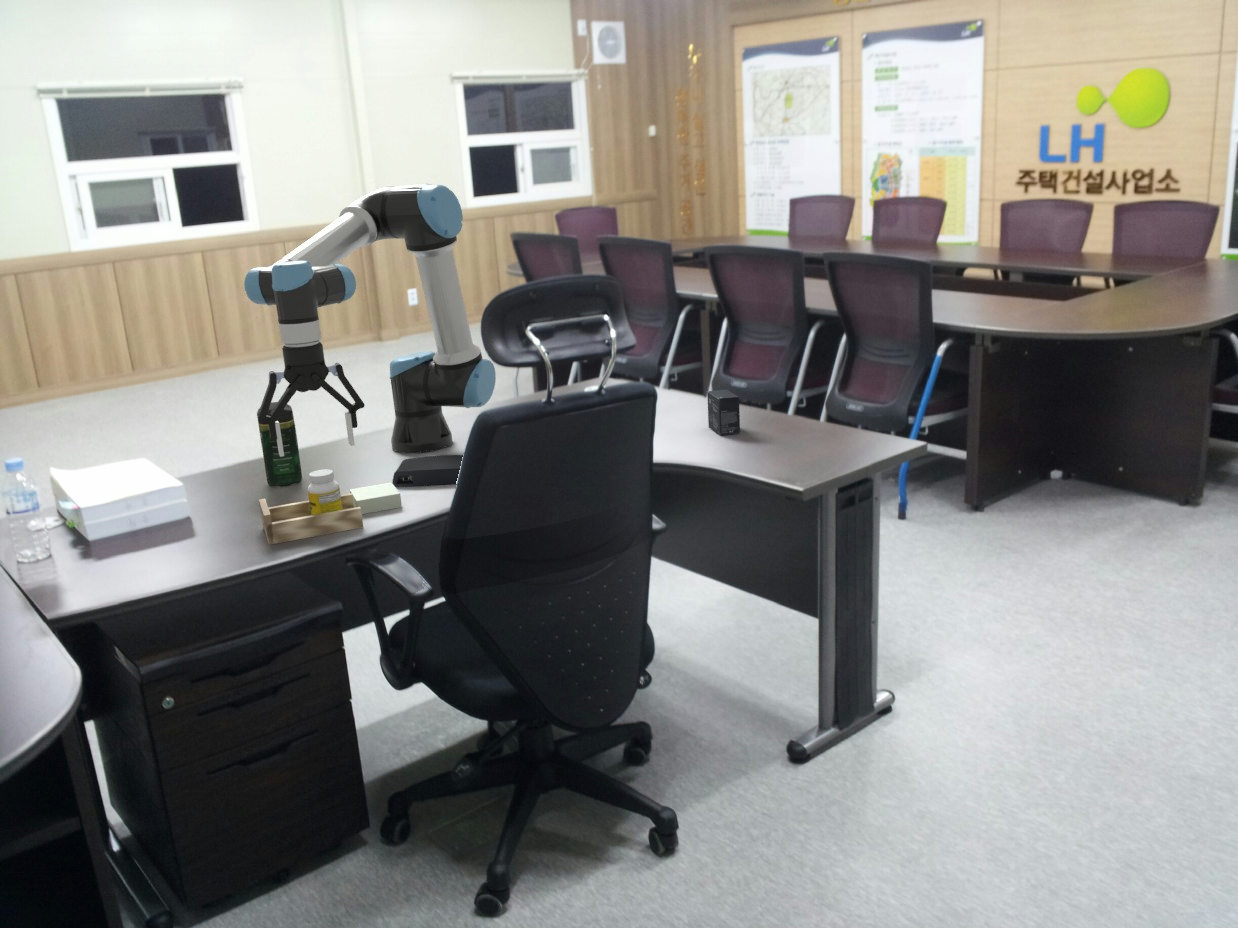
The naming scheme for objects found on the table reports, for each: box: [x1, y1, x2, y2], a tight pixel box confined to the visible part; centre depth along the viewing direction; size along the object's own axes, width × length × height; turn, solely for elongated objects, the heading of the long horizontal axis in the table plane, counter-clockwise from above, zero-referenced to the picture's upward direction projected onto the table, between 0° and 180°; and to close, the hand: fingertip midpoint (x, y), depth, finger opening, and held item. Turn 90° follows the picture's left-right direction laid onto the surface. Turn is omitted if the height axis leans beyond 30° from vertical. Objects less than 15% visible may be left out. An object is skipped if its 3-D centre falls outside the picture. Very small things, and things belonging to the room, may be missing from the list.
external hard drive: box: [391, 454, 464, 488], centre depth 245 cm, size 13×19×4 cm
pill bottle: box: [307, 468, 343, 515], centre depth 217 cm, size 6×6×11 cm
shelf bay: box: [258, 492, 364, 546], centre depth 217 cm, size 18×11×6 cm, turn 113°
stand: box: [349, 481, 403, 515], centre depth 228 cm, size 9×9×3 cm
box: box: [706, 389, 741, 436], centre depth 268 cm, size 9×6×10 cm, turn 13°
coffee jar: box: [256, 401, 303, 488], centre depth 247 cm, size 10×8×19 cm
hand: (317, 449), depth 214 cm, fingers open, 13 cm apart
